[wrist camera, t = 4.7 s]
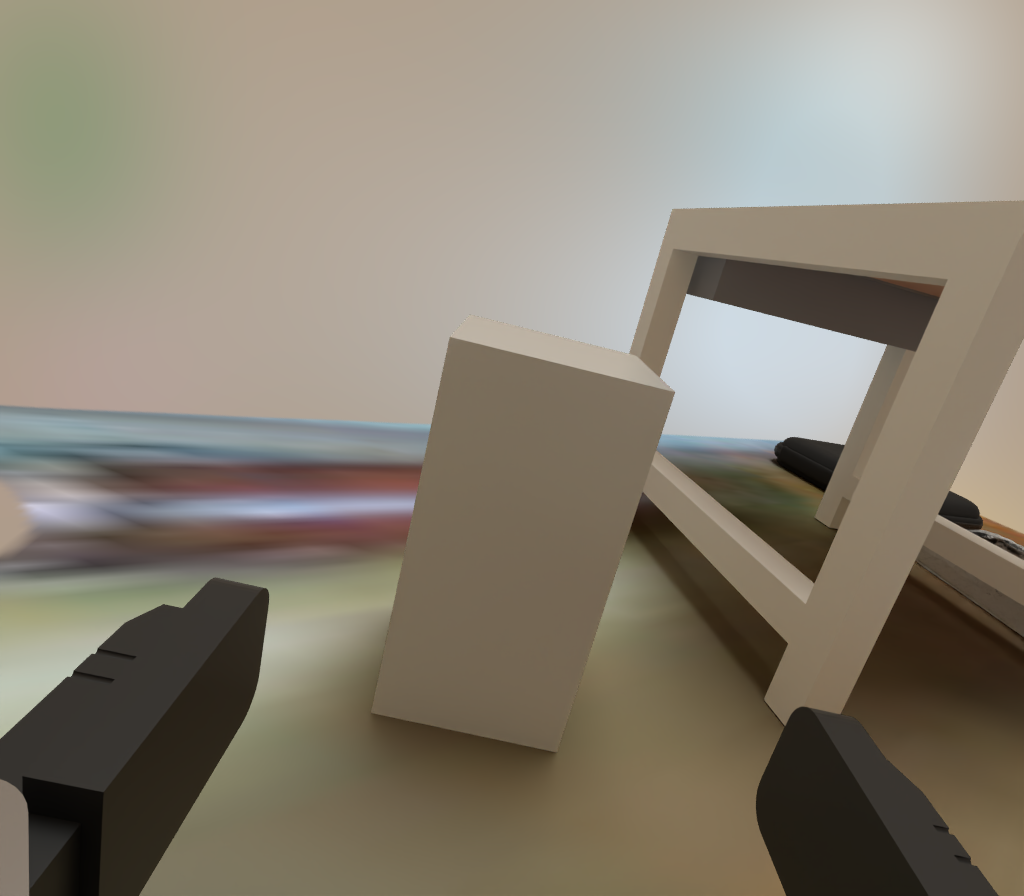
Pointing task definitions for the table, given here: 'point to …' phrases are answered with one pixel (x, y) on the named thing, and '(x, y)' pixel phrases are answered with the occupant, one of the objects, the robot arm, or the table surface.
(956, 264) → the trapdoor stand
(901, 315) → the trapdoor
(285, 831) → the table surface
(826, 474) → the carrying case or bag
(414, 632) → the plain beige rectangular block
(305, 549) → the table surface
